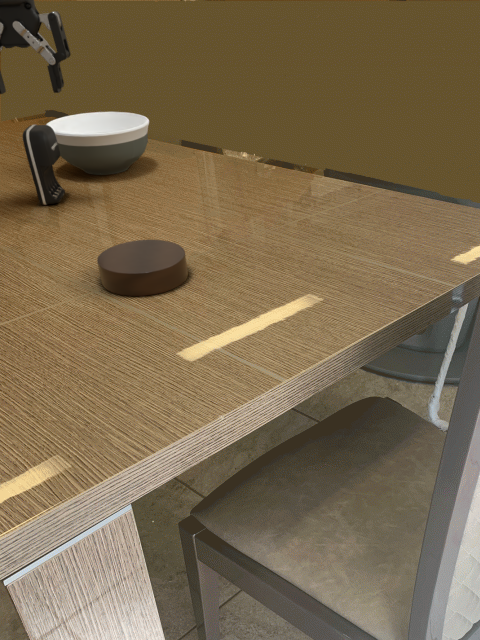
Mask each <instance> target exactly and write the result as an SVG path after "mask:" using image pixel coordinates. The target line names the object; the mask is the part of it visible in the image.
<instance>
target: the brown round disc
mask: <svg viewBox="0 0 480 640" xmlns="http://www.w3.org/2000/svg"><path fill="white" fill-rule="evenodd" d="M96 261H97V266H98V271H99V276H100V281H101V284H102V286H103V288H104V289H106V290H107V291H109V292H111V293H113V294H116V295H121V296H127V297H129V296H130V297H143V296H144V297H145V296H153V295H157V294H162V293H165V292H169V291H171V290H174V289H176V288H177V287H179V286H182V284H183V283H184V282H186V280H187V279H188V278H189V277H188V276H189V271H188V264H187V257H186V251H185V249H184V247H183V246H181V245H180V244H177V243H175V242H172V241H168V240H163V239H162V240H161V239H140V240H139V239H138V240H130V241H126V242H122V243H119V244H116V245H113V246H111V247H109V248H107V249H105V250H103V251H101V252H100V254H98V257H97V260H96Z"/></svg>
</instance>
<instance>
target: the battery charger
mask: <svg viewBox="0 0 480 640" xmlns="http://www.w3.org/2000/svg"><path fill="white" fill-rule="evenodd" d="M22 143H23V146H24V150H25V155H26V159H27V161H28V165H29V170H30V172H31V177H32V180H33V184H34V187H35V191H36V194H37V199H38V202H39V205H45V206H46V205H53V204H58V203H60V202H61V201H62V199H63V198H64V196H65V194H66V190H65V188H63V187H62V185H61V184H60V183H59V182H58V180H57V178H56V175H55V171H54V168H53V166H54V165H55V164H56V163H57V161H58V160H59V159H60V158H61V156H60V150H59V146H58V142H57V139H56V135H55V132H54V130H53V129H52V128H51V127H50V126H48V125H46V124H32V125H29V126H28V127H27V128H25V129H24V130H23V132H22Z"/></svg>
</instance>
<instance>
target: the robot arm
mask: <svg viewBox="0 0 480 640" xmlns="http://www.w3.org/2000/svg"><path fill="white" fill-rule="evenodd" d="M42 24H44V26H45V27H46V29H47V30H48V31H51V35H52V38H53V41H54V45H55V48H56V51H55V50H54V49H53V48H52V47H51V45H50V44H49V42H48V41H47V40H46V39H45V37H44V36H42V34H41V33H40V32H39V31H40V30H41V26H42ZM15 47H17V48H21V49H26V48H29V47H32V49H33V50H34V51H35V52H36V53H38V54H39V55H40V56H41V57H42V58H43V59H44V60H45V61H46V63H48V65H47V71H48V76H49V81H50V83H51V87H52V91H53V93H54V94H59V93H61V92H62V89H63V88H64V86H65V81H64V77H63V73H62V68H61V62H63V61H65V60H67V59H69V58H70V57H71V55H72V53H71V50H70V46H69V42H68V39H67V35H66V32H65V27H64V24H63V21H62V17H61V14H60V12H58V11H57V10H56V11H51V12H47V13H40V12H39V10H38V9H37V6H36V3H35V0H0V53H1V52H2V50H3V49H12V48H15ZM6 92H7V90H6V85H5V82H4V78H3V75H2V72H1V70H0V95H4V94H5V93H6Z"/></svg>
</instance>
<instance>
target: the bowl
mask: <svg viewBox="0 0 480 640" xmlns="http://www.w3.org/2000/svg"><path fill="white" fill-rule="evenodd" d="M45 125H48V126H50V127H51V128H52V129H53V130H54V132H55V135H56V139H57V142H58V146H59V150H60V158H61V159H62V160H63V161H65V162H67V163H68V164H70V165H72V166H74V167H76V168H77V169H79V170H82V171H83V172H84V173H86V174H89V175H95V176H107V175H114V174H119V173H123V172H126V171H128V170H129V169H130V167H131V166H132V165H133V164H135V163H136V161H138V160H139V159H141V157H142V156H143V154H144V153H145V151H146V148H147V145H148V142H149V139H148V138H149V137H148V136H149V135H148V133H149V131H148V130H149V125H150V120H149V118H148V117H146V116H145V115H143V114H139V113H133V112H124V111H96V112H95V111H94V112H84V113H83V112H82V113H77V114H71V115H65V116H62V117H59V118H56V119H52V120H50V121H49V122H47V123H46V124H45Z"/></svg>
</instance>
